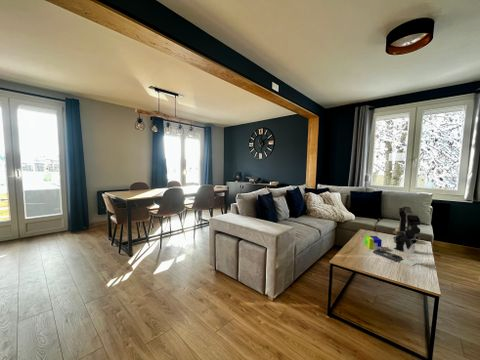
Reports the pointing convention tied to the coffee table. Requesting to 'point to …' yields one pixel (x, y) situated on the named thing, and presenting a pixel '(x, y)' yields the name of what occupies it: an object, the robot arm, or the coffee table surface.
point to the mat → (408, 262)
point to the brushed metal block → (409, 248)
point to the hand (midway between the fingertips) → (409, 248)
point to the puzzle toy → (373, 242)
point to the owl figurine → (398, 230)
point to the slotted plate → (388, 256)
